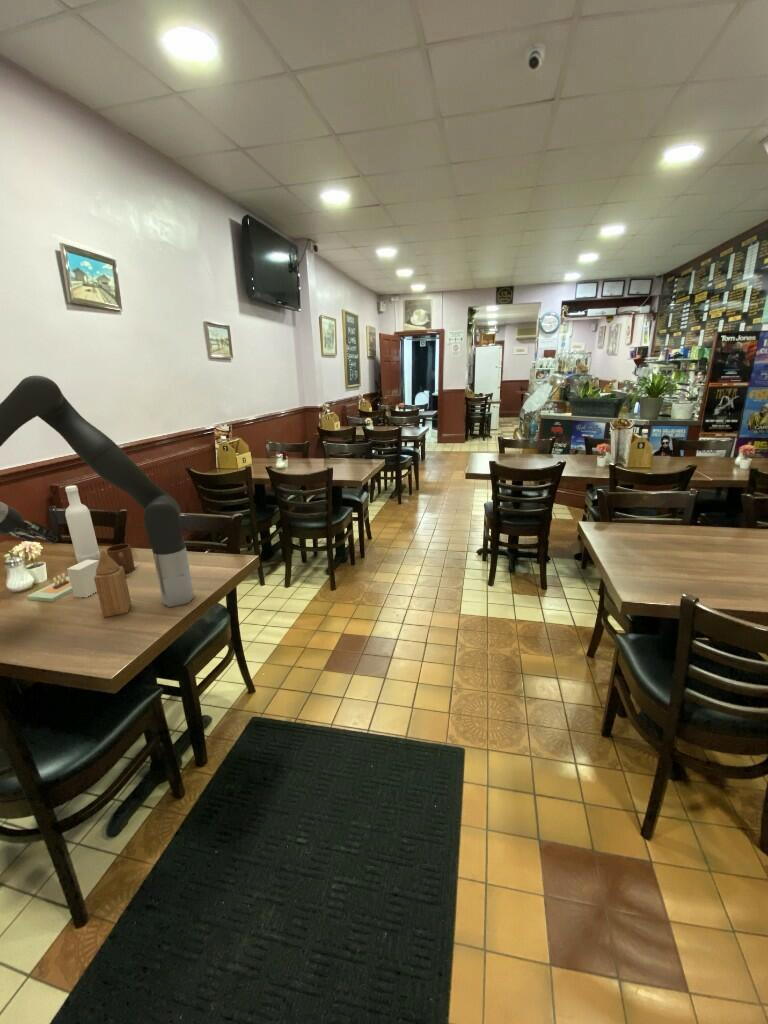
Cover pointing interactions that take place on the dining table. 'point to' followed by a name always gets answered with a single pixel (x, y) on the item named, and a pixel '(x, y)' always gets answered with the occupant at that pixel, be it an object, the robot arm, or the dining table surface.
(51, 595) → the header board
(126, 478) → the robot arm
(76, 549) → the bottle
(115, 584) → the decorative item
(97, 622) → the dining table surface
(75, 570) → the housing
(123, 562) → the mug
